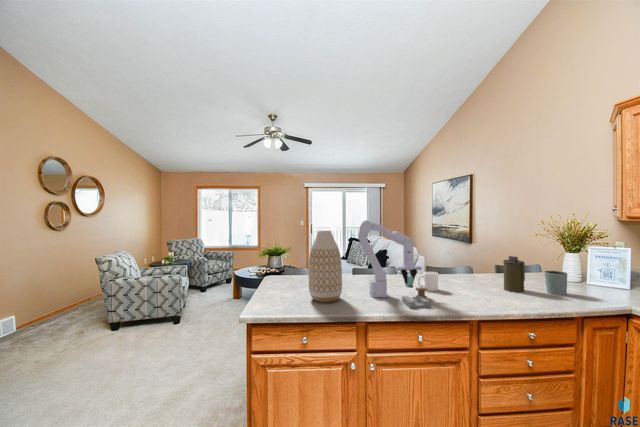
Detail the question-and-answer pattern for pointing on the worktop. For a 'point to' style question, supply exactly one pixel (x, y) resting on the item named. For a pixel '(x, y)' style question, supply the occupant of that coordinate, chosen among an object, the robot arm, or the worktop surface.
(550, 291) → the grey pot
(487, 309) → the worktop surface
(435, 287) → the cup
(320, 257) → the vase
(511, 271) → the canister
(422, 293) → the bobbin
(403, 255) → the robot arm
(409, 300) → the board
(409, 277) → the tab
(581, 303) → the worktop surface
